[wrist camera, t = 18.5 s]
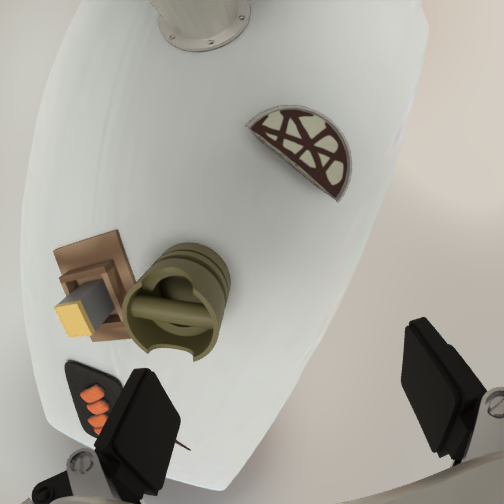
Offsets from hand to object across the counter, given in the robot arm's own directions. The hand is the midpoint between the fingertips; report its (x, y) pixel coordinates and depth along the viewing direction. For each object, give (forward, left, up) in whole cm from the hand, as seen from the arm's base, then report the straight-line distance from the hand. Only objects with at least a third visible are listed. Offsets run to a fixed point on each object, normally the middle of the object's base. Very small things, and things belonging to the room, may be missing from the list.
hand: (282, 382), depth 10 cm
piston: (+7, -13, -31) cm, 34 cm away
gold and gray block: (+6, -29, -30) cm, 42 cm away
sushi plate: (+38, -40, -31) cm, 63 cm away
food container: (-8, +6, -31) cm, 32 cm away
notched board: (+6, -29, -30) cm, 42 cm away
